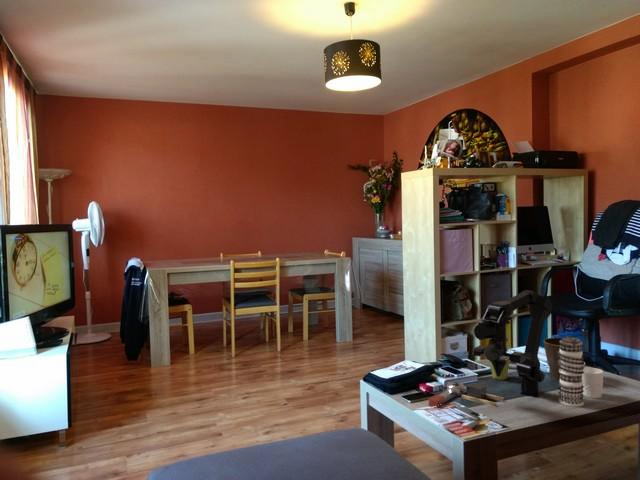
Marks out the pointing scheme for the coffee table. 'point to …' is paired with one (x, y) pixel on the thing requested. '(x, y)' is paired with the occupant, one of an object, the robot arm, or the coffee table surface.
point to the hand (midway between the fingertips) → (498, 376)
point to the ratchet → (448, 393)
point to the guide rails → (484, 400)
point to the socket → (476, 391)
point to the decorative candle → (571, 372)
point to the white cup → (592, 382)
